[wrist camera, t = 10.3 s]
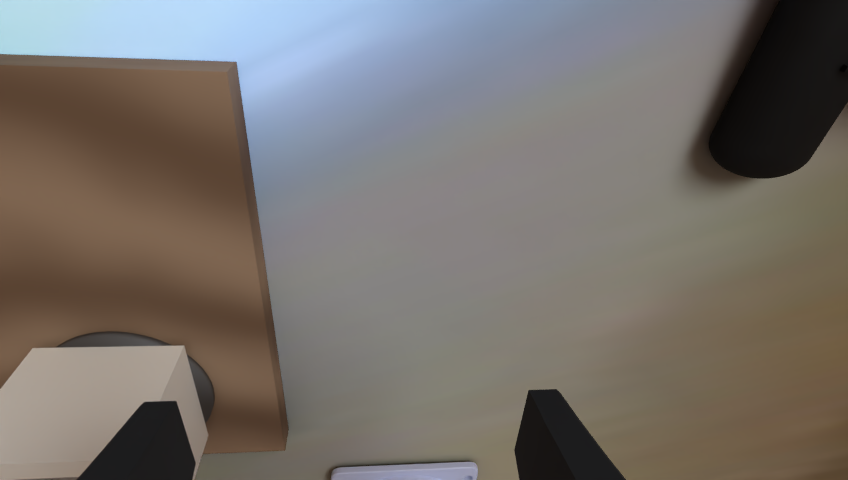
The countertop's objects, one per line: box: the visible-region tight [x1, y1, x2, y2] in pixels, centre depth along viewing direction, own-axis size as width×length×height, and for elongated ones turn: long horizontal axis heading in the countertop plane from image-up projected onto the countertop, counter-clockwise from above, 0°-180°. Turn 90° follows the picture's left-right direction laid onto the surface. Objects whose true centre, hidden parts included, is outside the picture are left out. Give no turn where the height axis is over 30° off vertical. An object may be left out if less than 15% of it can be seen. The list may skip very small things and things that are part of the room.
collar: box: [0, 345, 208, 480], centre depth 19 cm, size 6×6×5 cm
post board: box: [0, 54, 289, 480], centre depth 17 cm, size 18×12×6 cm, turn 177°
